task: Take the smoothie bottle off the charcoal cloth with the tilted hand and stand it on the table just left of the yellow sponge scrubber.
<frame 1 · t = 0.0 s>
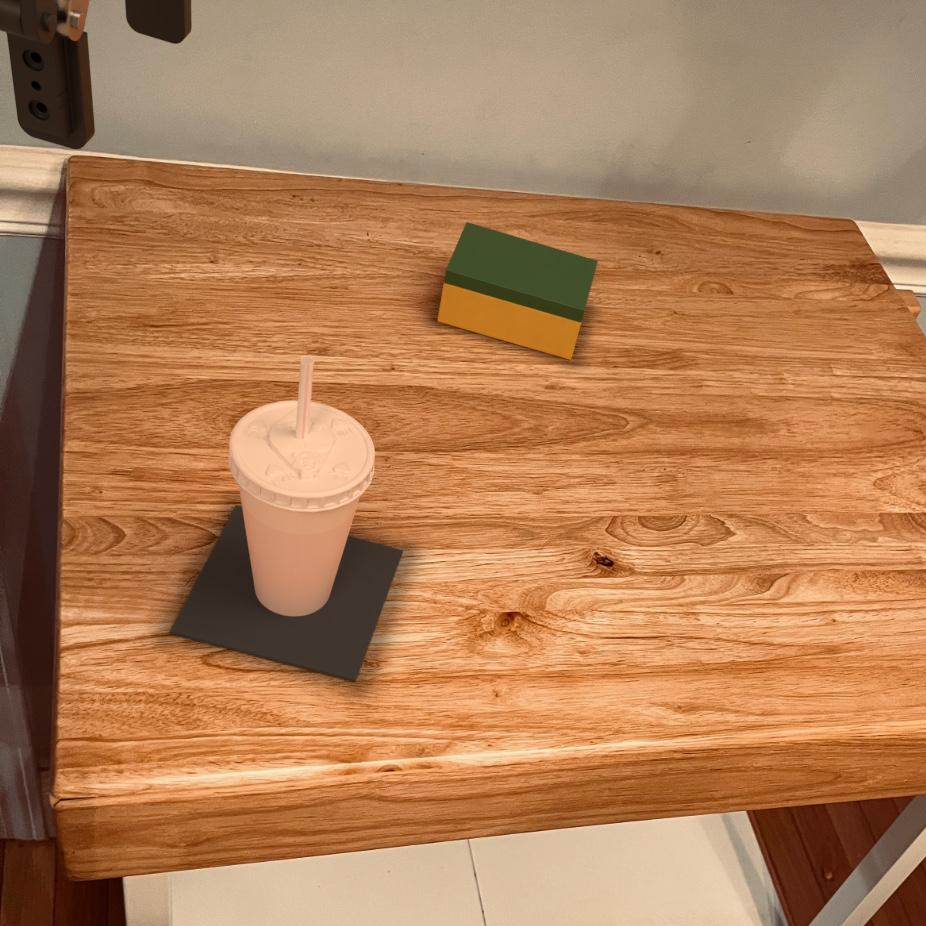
hand: (111, 83, 42), 24 cm above the kitchen cart, tool pointing down, fingers open, 8 cm apart
scrubber: (512, 315, 79), on the kitchen cart
cloth: (292, 590, 60), on the kitchen cart
smoothie: (292, 590, 60), resting on cloth
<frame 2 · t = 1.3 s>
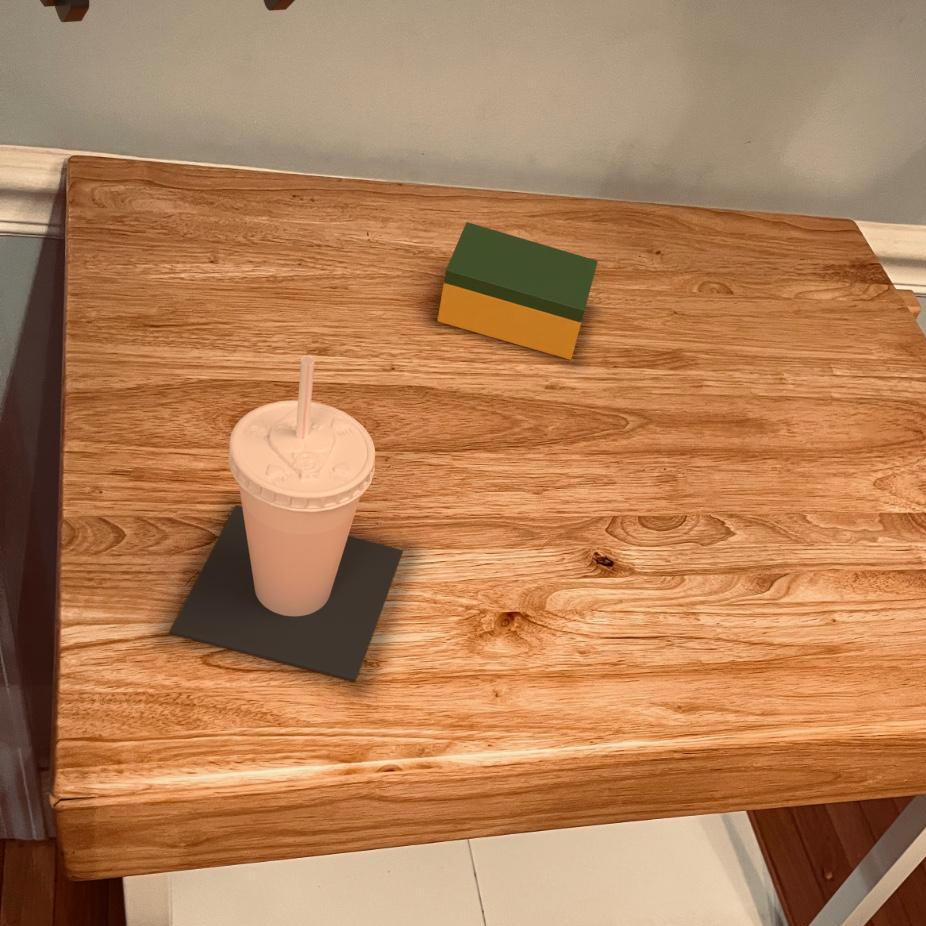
hand: (185, 9, 47), 24 cm above the kitchen cart, tool tilted 45°, fingers open, 8 cm apart
nothing on the kitchen cart moved.
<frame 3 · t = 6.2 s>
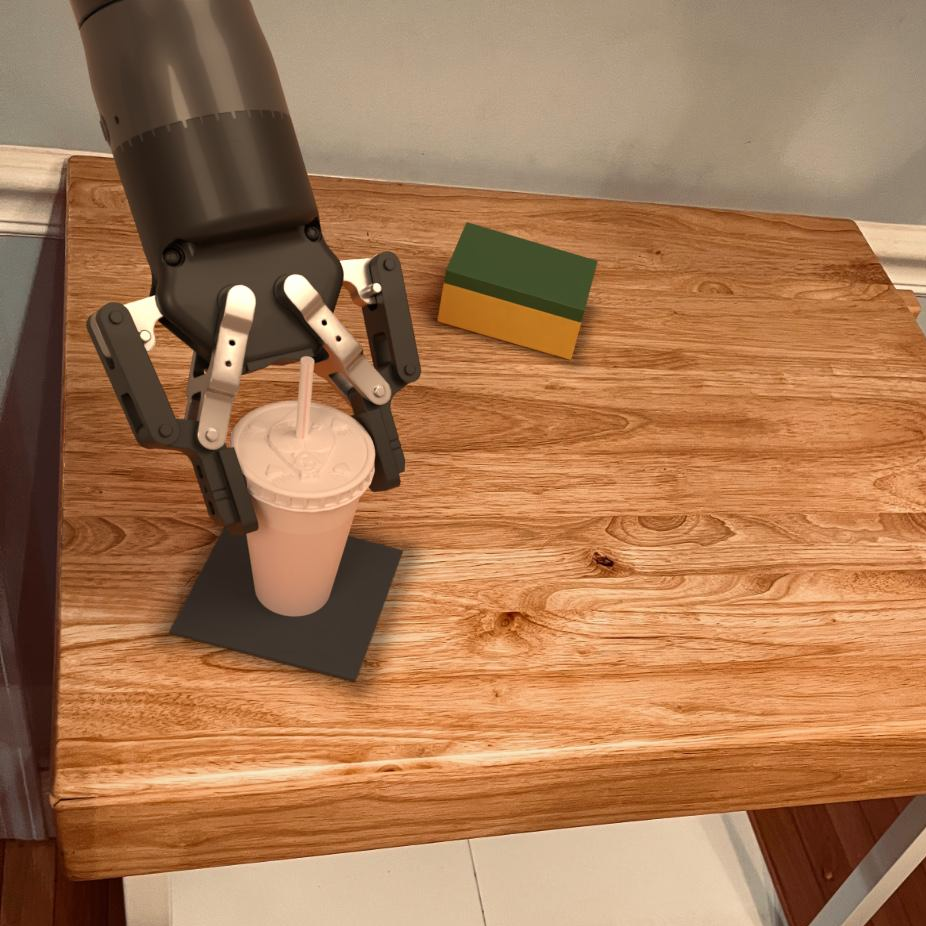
hand: (318, 509, 54), 7 cm above the kitchen cart, tool tilted 45°, fingers closed on smoothie, 6 cm apart
smoothie: (292, 590, 60), resting on cloth, touching gripper
everything else where it was.
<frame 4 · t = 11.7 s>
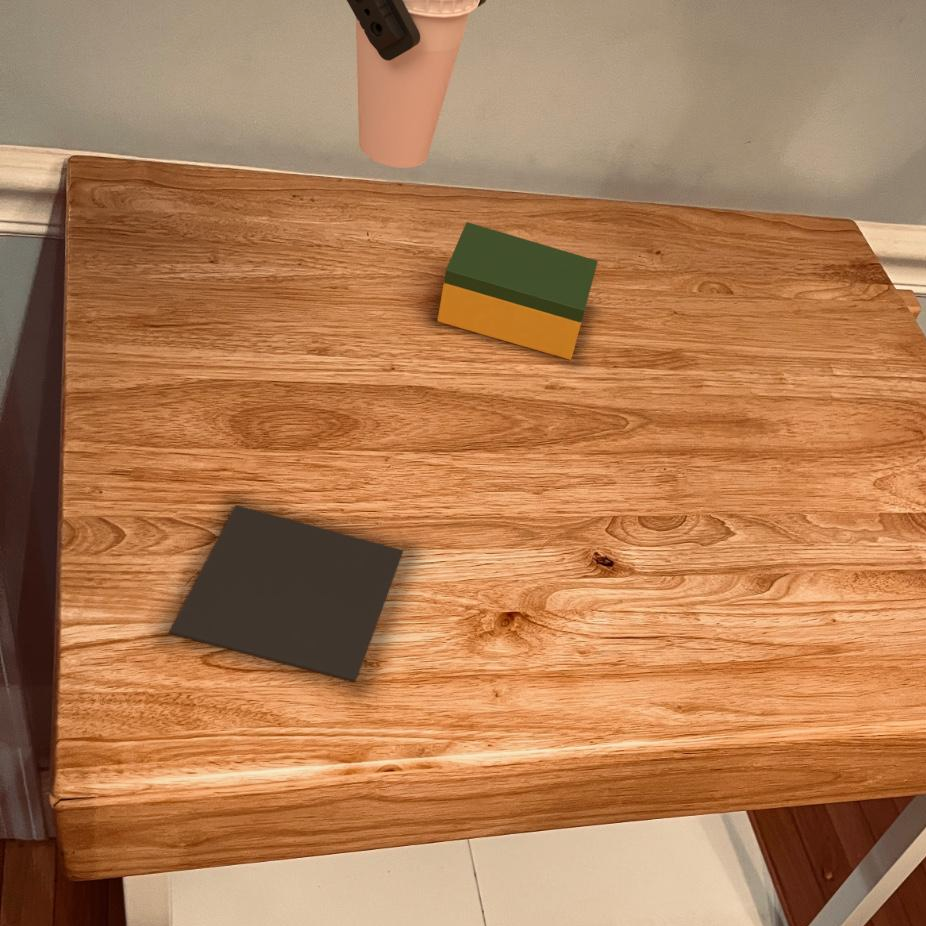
hand: (439, 29, 59), 20 cm above the kitchen cart, tool tilted 45°, fingers closed on smoothie, 6 cm apart
smoothie: (393, 152, 65), point 13 cm above the kitchen cart, touching gripper
everything else where it was.
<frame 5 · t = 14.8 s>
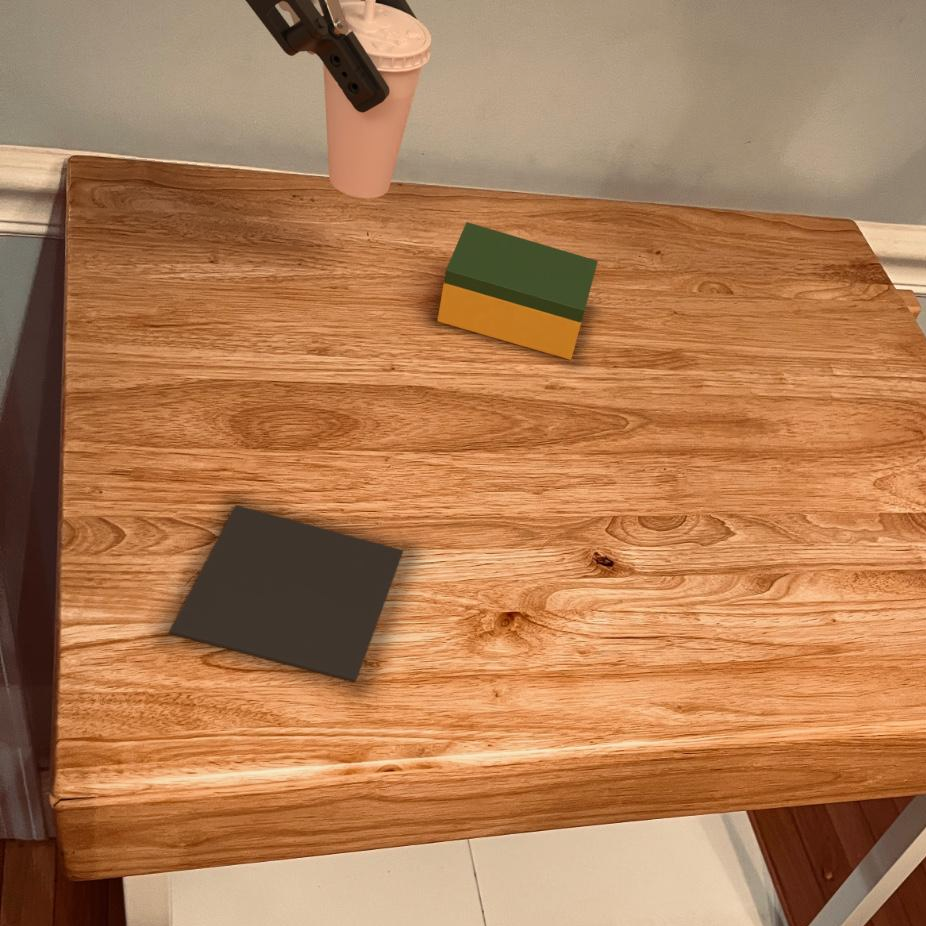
hand: (397, 78, 69), 14 cm above the kitchen cart, tool tilted 45°, fingers closed on smoothie, 6 cm apart
smoothie: (359, 184, 74), point 6 cm above the kitchen cart, touching gripper
everything else where it was.
when the fingers open (7 cm above the kitchen cart, at t = 17.2 s): smoothie stays where it is, on the kitchen cart.
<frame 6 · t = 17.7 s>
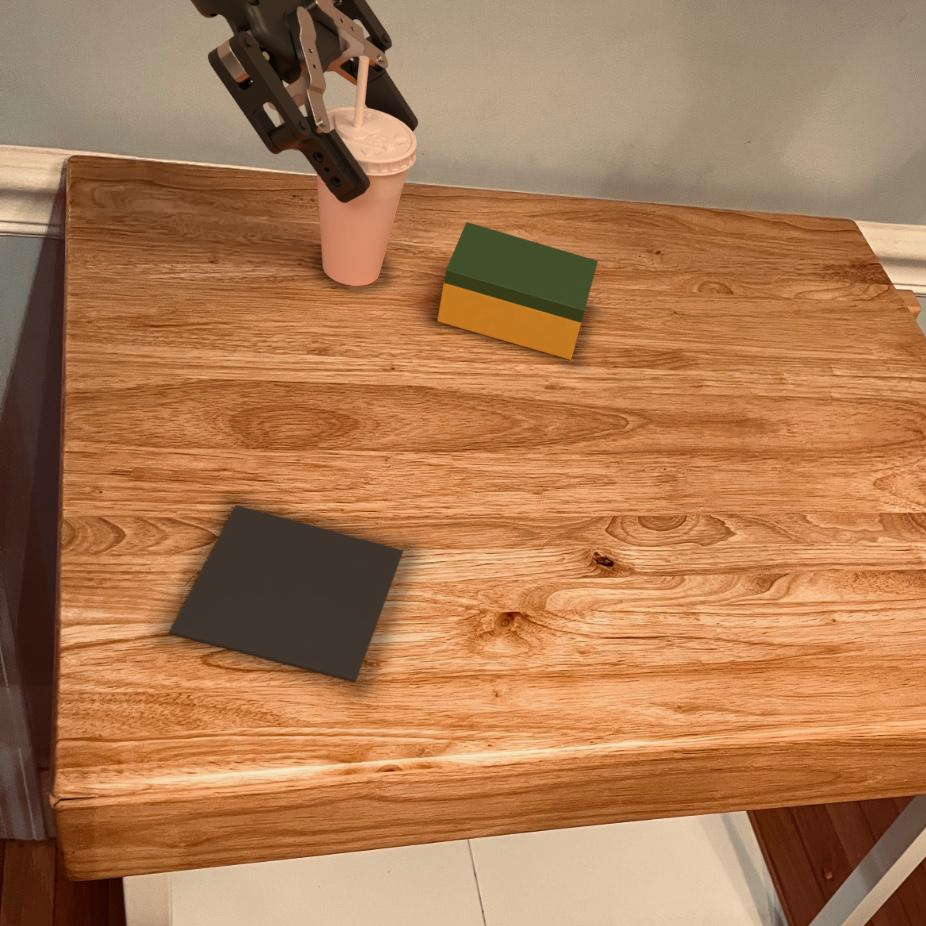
hand: (383, 163, 73), 8 cm above the kitchen cart, tool tilted 45°, fingers open, 8 cm apart
smoothie: (351, 271, 79), on the kitchen cart
everything else where it was.
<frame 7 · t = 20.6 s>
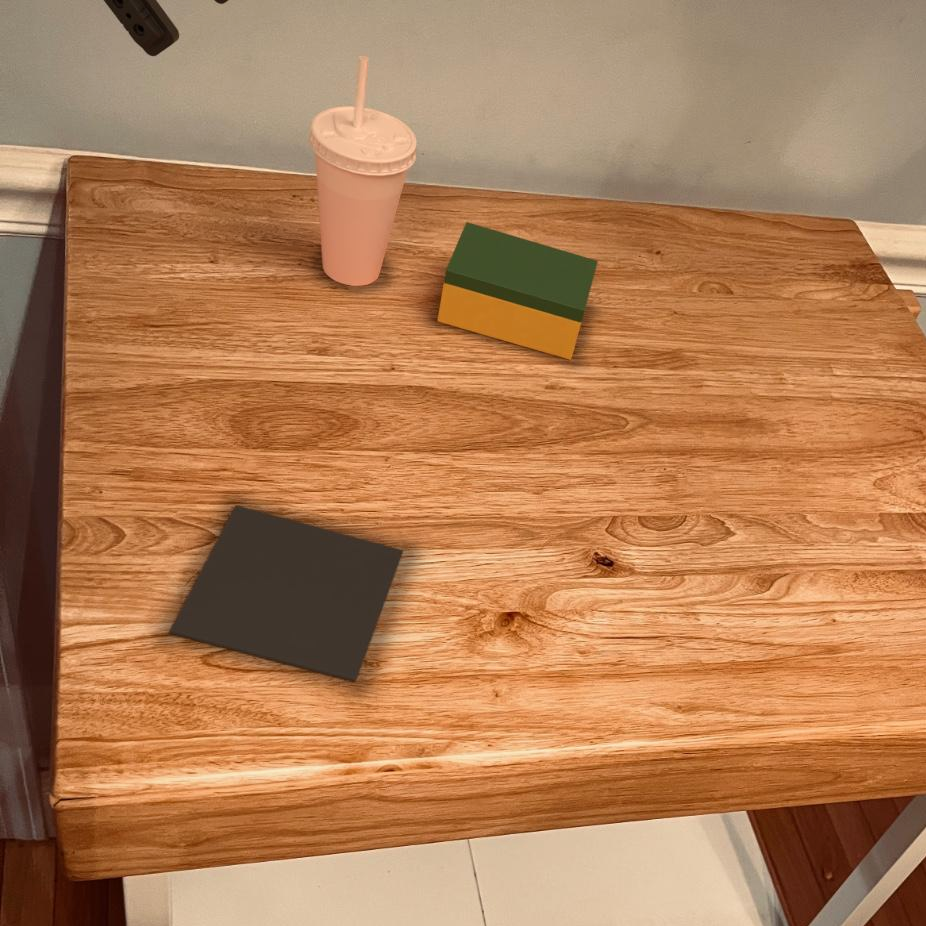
hand: (202, 20, 68), 13 cm above the kitchen cart, tool tilted 45°, fingers open, 8 cm apart
nothing on the kitchen cart moved.
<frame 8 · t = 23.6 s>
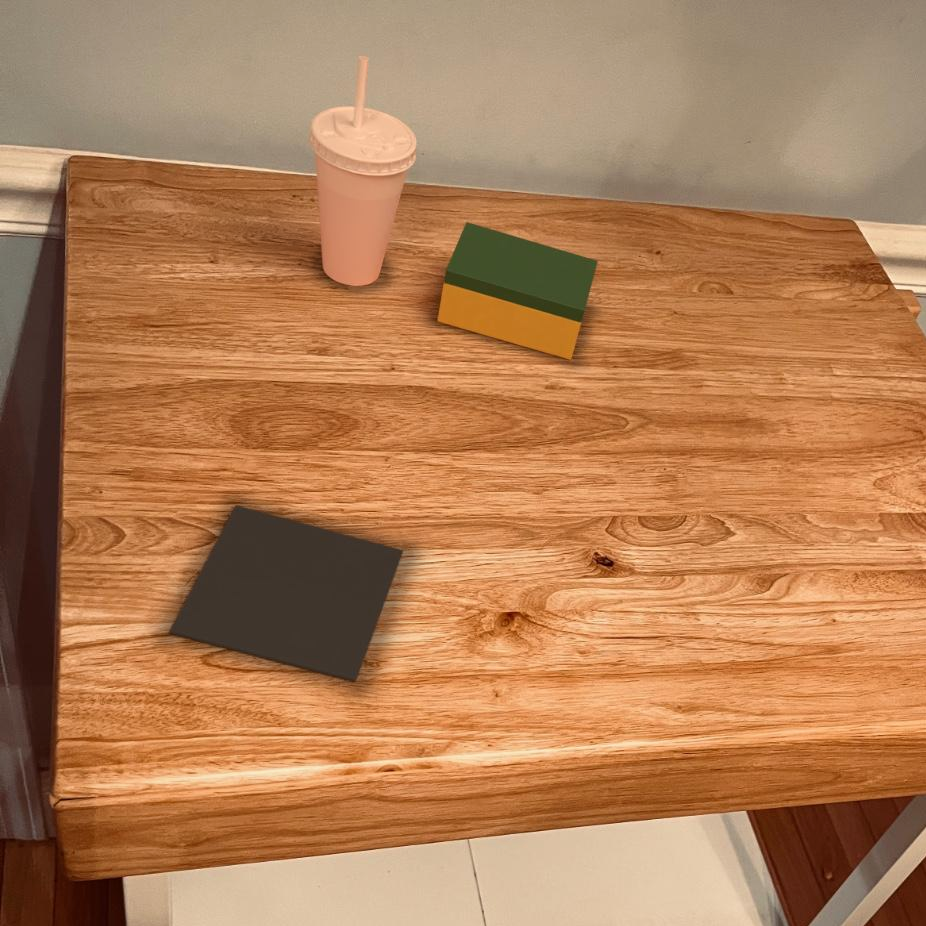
nothing on the kitchen cart moved.
at the end: smoothie inside the target area on the kitchen cart beside the scrubber (0.5 cm from its centre), on the kitchen cart; smoothie tilted 0°; the gripper is holding nothing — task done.
